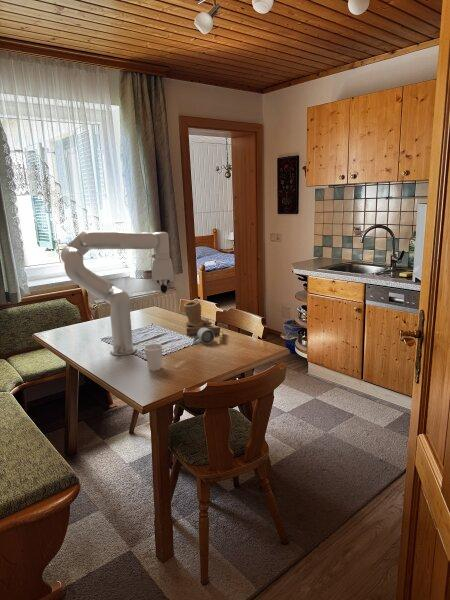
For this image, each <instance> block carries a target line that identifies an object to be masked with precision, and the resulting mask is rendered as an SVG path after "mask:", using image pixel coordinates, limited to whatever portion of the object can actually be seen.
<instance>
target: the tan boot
mask: <svg viewBox="0 0 450 600" xmlns="http://www.w3.org/2000/svg"><path fill="white" fill-rule="evenodd" d="M183 310H184V312H185V315H186V317H187V320H188V321H186V322H185V325H186V326H190V327H192V328H203V327H211V325H212V324H213V323H212V322H211V321H206V320H203V319H202V306H201V303H200V301H198V300H196V301H195V300H194V301H192V300H191V301H188V302H186V303H184V305H183Z"/></svg>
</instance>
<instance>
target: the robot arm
mask: <svg viewBox="0 0 450 600" xmlns="http://www.w3.org/2000/svg"><path fill="white" fill-rule="evenodd" d="M169 237H170V236H169V233H168V232H166V231H155V232H148V231H147V232H146V231H145V232H137V233H136V232H127V231H123V230H122V231H120V230H90V229H86V230H83V231H81V232H80V233H79V234H78V235H77V236H76V237H75V238H74V239H73V240H72V241H70V242H69V243H68V244H66V246H64V247H63V249H61V252H60V259H61V261H62V262H63V265H64V271H65V275H66V276H67V277H68V279H70V280H71V281H72V282H73V283H74V284H76V285H77V286H80V287H81V288H82V289H84V290H86V291H87V292H89V293H90V294H91V295H93V296H94V297H97V298H98V299H100V300H102V301H103V302H106V304H107V303H108V304H109V306H110V312H109V313H110V314H109V315H110V318H109V319H110V326H111V337H112V348H111V349H110V350H109V353H110V354H111V355H112V356H127V355H132V354H133V353H135V352H136V351H137V347H136V346H135V345H134V344H133V333H132V332H133V331H132V318H131V317H132V316H131V297H130V295H129V293H128V292H127V291H126V290H124V289H122V288H121V287H119V286H117V285H116V284H114V283H113V282H111V281H109V280H108V279H106V278H104V277H103V276H101V275H98V274H96V273H95V272H93V271H92V270H90V269H88V268H87V267H86V266H85V265H84V256H85V255H86V254H87V253H88V252H89V251H90V250H152V249H153V252H154V254H151V259H152V258H153V259H152V265H151V266H152V269H151V270H152V271H151V272H152V282H154V283H157V284H159V286H160V292H161V293H162V294H166V293H167V292H168V284H169V283H171V282H174V281H175V279H174V268H173V261H172V259H171V257H170V256H171V255H170V242H169V241H170V238H169ZM163 281H164V282H163Z"/></svg>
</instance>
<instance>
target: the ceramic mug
mask: <svg viewBox="0 0 450 600" xmlns="http://www.w3.org/2000/svg"><path fill="white" fill-rule="evenodd" d="M215 338H216V337H215V335H214V333H213V331H211V330H210V329H208V328H201V329H199V331H198V333H197V337H194V338H193V339H192V342H193V344H194V345H198V344H200V343H202V344H204V345H210V344H212V343H213V342H214V340H215Z"/></svg>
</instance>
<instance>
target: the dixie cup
mask: <svg viewBox="0 0 450 600" xmlns="http://www.w3.org/2000/svg"><path fill="white" fill-rule="evenodd" d="M163 348H164V345H162V344H160V343H149V344H147V345H145V346H144V347H143V350H144V353H145V359H146V362H147V368H148V370H149V371H154V372H155V371H159V370H161V369H162V362H163V361H162V360H163Z"/></svg>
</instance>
